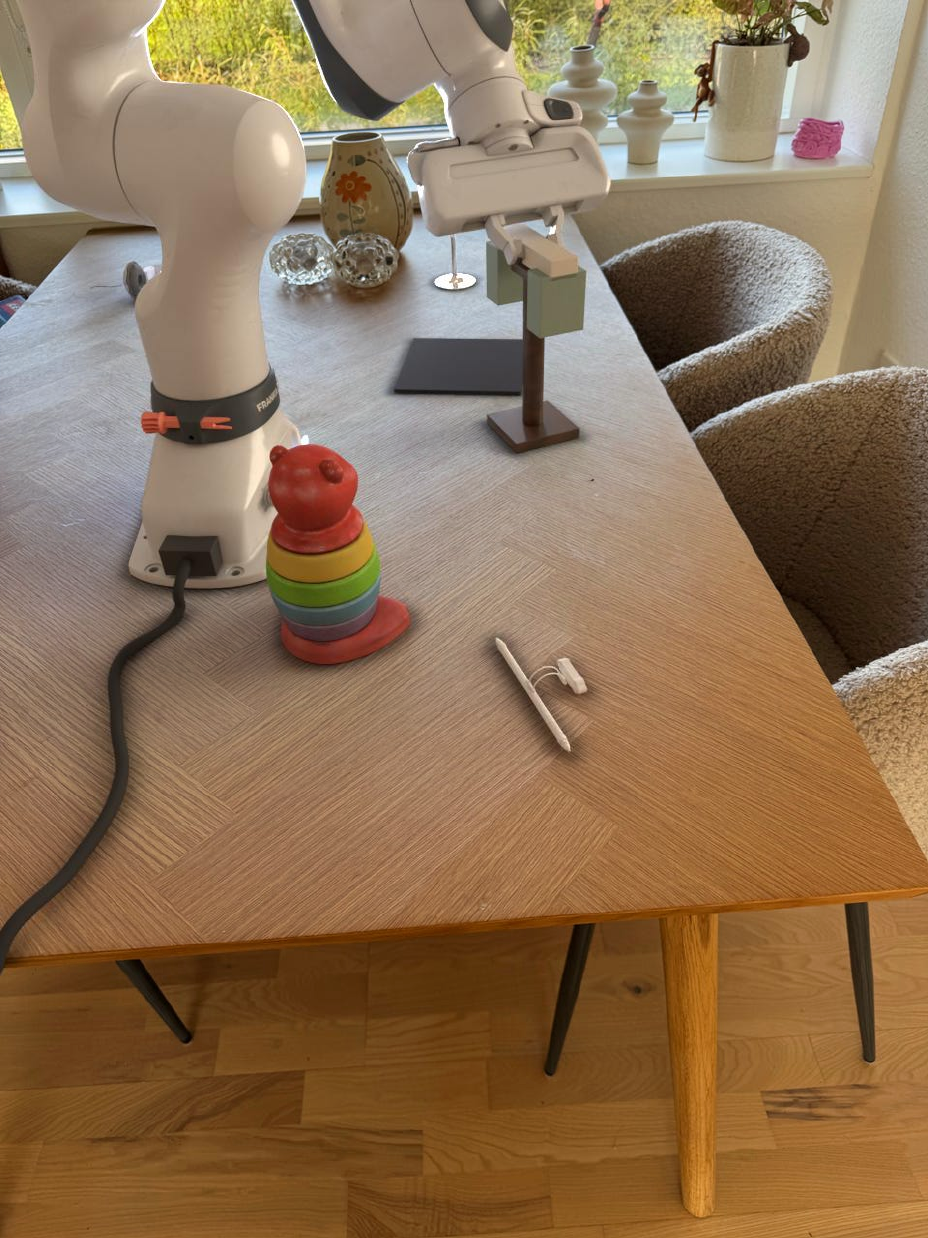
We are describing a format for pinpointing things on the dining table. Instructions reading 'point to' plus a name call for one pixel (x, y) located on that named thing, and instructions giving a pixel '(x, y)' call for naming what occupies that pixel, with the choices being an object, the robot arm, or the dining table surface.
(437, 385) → the desk mat
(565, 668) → the picture light
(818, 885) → the dining table surface
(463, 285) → the wineglass
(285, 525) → the stacking bear
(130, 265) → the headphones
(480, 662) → the dining table surface
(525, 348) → the stand
